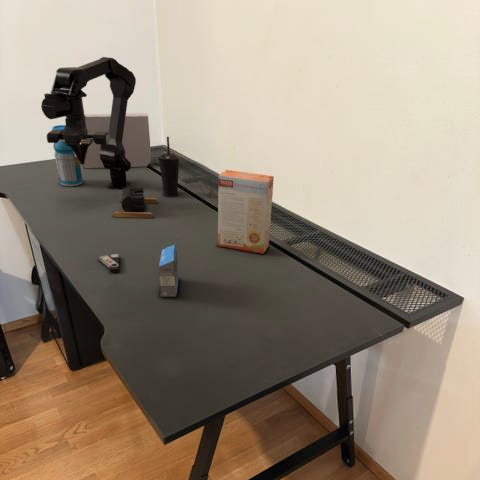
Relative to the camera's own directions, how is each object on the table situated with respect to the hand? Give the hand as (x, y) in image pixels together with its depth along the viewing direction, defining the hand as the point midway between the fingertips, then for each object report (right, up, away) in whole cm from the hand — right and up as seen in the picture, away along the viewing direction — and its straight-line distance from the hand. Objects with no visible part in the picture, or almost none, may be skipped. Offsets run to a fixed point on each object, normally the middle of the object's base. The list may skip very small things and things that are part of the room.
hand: (82, 164), depth 152 cm
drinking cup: (+27, -6, +14) cm, 31 cm away
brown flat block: (+18, -15, +1) cm, 23 cm away
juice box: (+35, -44, -40) cm, 69 cm away
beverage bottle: (-11, -1, +20) cm, 22 cm away
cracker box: (+54, -31, -19) cm, 65 cm away
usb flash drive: (+18, -38, -32) cm, 52 cm away
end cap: (+17, -15, 0) cm, 23 cm away
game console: (+1, +13, +40) cm, 42 cm away
